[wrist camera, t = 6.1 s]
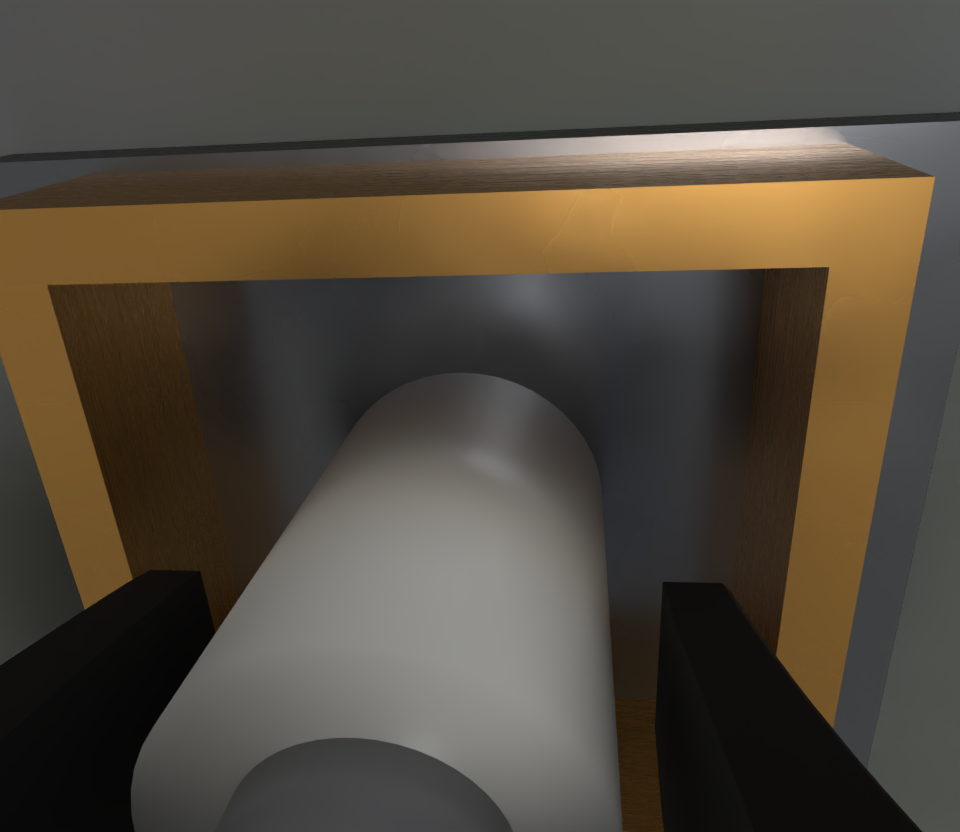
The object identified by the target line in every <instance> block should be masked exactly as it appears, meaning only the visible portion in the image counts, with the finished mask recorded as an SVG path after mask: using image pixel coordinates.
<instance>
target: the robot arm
mask: <svg viewBox="0 0 960 832" xmlns="http://www.w3.org/2000/svg"><path fill="white" fill-rule="evenodd" d="M215 634H216V633H215V628H214V624H213V620H212V616H211V612H210V608H209V604H208V600H207V596H206V592H205V588H204V584H203V580H202V576H201V572H200V571H183V570H149V571H147V572H145V573H143V574H142V575H140V576H138V577H136V578H134V579H133V580H131V581H129V582H128V583H126V584H124V585H123V586H121V587H119V588H118V589H116V590H115V591H113V592H112V593H110V594H108V595H107V596H105V597H104V598H102V599H101V600H99V601H97V602H96V603H94V604H93V605H91V606H90V607H88V608H87V609H85V610H84V611H82V612H81V613H79V614H78V615H76V616H75V617H73V618H72V619H70V620H68V621H67V622H65V623H64V624H62V625H61V626H59V627H58V628H56V629H55V630H53V631H52V632H50V633H49V634H47V635H46V636H44V637H43V638H41V639H40V640H38V641H37V642H35V643H34V644H32V645H31V646H29V647H28V648H26V649H25V650H23V651H22V652H20V653H19V654H17V655H16V656H14V657H12V658H11V659H9V660H8V661H6V662H5V663H3V664H2V665H0V832H135V830H134V824H133V819H132V814H131V786H132V780H133V773H134V768H135V765H136V762H137V759H138V756H139V753H140V751H141V748H142V745H143V744H144V742H145V740H146V738H147V737H148V735H149V733H150V732H151V730H152V728H153V726H154V725H155V723H156V722H157V720H158V719H159V717H160V716H161V714H162V713H163V711H164V710H165V708H166V707H167V705H168V704H169V702H170V701H171V699H172V698H173V696H174V695H175V693H176V692H177V690H178V689H179V687H180V686H181V684H182V683H183V681H184V680H185V678H186V677H187V675H188V674H189V672H190V671H191V669H192V668H193V666H194V665H195V663H196V662H197V660H198V659H199V657H200V656H201V654H202V653H203V651H204V650H205V648H206V647H207V645H208V644H209V643H210V641H211V640H212V638H213V637H214V635H215ZM655 736H656V749H657V762H658V775H659V787H660V798H661V810H662V821H663V827H664V832H922V831H921V830H920V829H919V828H918V827H917V825H916V824H915V823H914V822H913V821H912V820H911V819H910V818H909V817H908V815H907V814H906V813H905V812H904V811H903V810H902V809H901V808H900V807H899V805H898V804H897V803H896V802H895V801H894V800H893V799H892V798H891V797H890V795H889V794H888V793H887V792H886V791H885V790H884V789H883V788H882V786H881V785H880V784H879V783H878V782H877V781H876V779H875V778H874V777H873V776H872V775H871V774H870V772H869V771H868V770H867V769H866V768H865V767H864V765H863V764H862V763H861V762H860V761H859V760H858V758H857V757H856V756H855V755H854V754H853V752H852V751H851V750H850V749H849V748H848V746H847V745H846V744H845V743H844V741H843V740H842V739H841V738H840V737H839V735H838V734H837V733H836V732H835V730H834V729H833V728H832V727H831V725H830V724H829V723H828V722H827V721H826V719H825V718H824V717H823V716H822V714H821V713H820V712H819V711H818V710H817V708H816V707H815V706H814V705H813V703H812V702H811V701H810V700H809V698H808V697H807V696H806V694H805V693H804V692H803V691H802V689H801V688H800V687H799V685H798V684H797V683H796V682H795V680H794V679H793V678H792V676H791V675H790V674H789V672H788V671H787V670H786V668H785V667H784V666H783V664H782V663H781V662H780V660H779V659H778V658H777V656H776V655H775V654H774V652H773V651H772V650H771V648H770V647H769V645H768V644H767V643H766V641H765V640H764V638H763V637H762V636H761V634H760V633H759V631H758V630H757V629H756V627H755V626H754V624H753V623H752V621H751V620H750V619H749V617H748V616H747V614H746V613H745V611H744V610H743V608H742V607H741V605H740V604H739V602H738V601H737V599H736V598H735V596H734V595H733V593H732V592H731V591H730V590H729V589H728V588H727V587H726V586H725V585H724V584H723V583H699V582H663V585H662V603H661V621H660V639H659V657H658V675H657V693H656V711H655Z"/></svg>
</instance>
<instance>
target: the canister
mask: <svg viewBox="0 0 960 832" xmlns="http://www.w3.org/2000/svg"><path fill="white" fill-rule="evenodd" d="M131 814H132V819H133V824H134V830H135V832H623V825H622V809H621V793H620V777H619V760H618V744H617V728H616V712H615V696H614V680H613V663H612V647H611V631H610V615H609V599H608V583H607V566H606V550H605V534H604V518H603V502H602V486H601V481H600V476H599V471H598V468H597V465H596V462H595V459H594V457H593V454H592V452H591V450H590V448H589V446H588V444H587V443H586V441H585V439H584V437H583V436H582V435H581V433H580V432H579V431H578V429H577V428H576V426H575V425H574V424H573V423H572V422H571V421H570V420H569V419H568V418H567V416H566V415H565V414H564V413H563V412H562V411H560V410H559V409H558V408H557V407H556V406H554V405H553V404H552V403H551V402H549V401H548V400H547V399H545V398H543V397H542V396H540V395H539V394H537V393H535V392H534V391H532V390H530V389H528V388H526V387H523V386H521V385H519V384H517V383H514V382H511V381H508V380H505V379H502V378H499V377H494V376H489V375H483V374H476V373H447V374H439V375H433V376H428V377H424V378H421V379H418V380H415V381H412V382H409V383H406V384H404V385H402V386H400V387H398V388H396V389H394V390H392V391H391V392H389V393H388V394H386V395H385V396H383V397H382V398H380V399H379V400H378V401H377V402H376V403H374V404H373V405H372V406H371V407H370V408H369V409H368V410H367V411H366V412H365V413H364V414H363V415H362V417H361V418H360V419H359V420H358V422H357V423H356V424H355V426H354V427H353V429H352V430H351V432H350V433H349V435H348V436H347V438H346V439H345V441H344V442H343V444H342V445H341V447H340V448H339V450H338V451H337V453H336V454H335V456H334V457H333V458H332V460H331V461H330V463H329V464H328V466H327V467H326V469H325V470H324V472H323V473H322V475H321V476H320V478H319V479H318V481H317V482H316V484H315V485H314V487H313V488H312V490H311V491H310V493H309V494H308V496H307V497H306V499H305V500H304V502H303V503H302V505H301V506H300V508H299V509H298V511H297V512H296V514H295V515H294V517H293V518H292V520H291V521H290V523H289V524H288V526H287V527H286V529H285V530H284V532H283V533H282V535H281V536H280V538H279V539H278V541H277V542H276V544H275V545H274V547H273V548H272V550H271V551H270V553H269V554H268V556H267V557H266V559H265V560H264V562H263V563H262V565H261V566H260V568H259V569H258V571H257V572H256V574H255V575H254V577H253V578H252V580H251V581H250V583H249V584H248V586H247V587H246V589H245V590H244V592H243V593H242V595H241V596H240V598H239V599H238V601H237V602H236V604H235V605H234V607H233V608H232V610H231V611H230V613H229V614H228V616H227V617H226V619H225V620H224V622H223V623H222V625H221V626H220V628H219V629H218V631H217V632H216V634H215V635H214V637H213V638H212V640H211V641H210V643H209V644H208V645H207V647H206V648H205V650H204V651H203V653H202V654H201V656H200V657H199V659H198V660H197V662H196V663H195V665H194V666H193V668H192V669H191V671H190V672H189V674H188V675H187V677H186V678H185V680H184V681H183V683H182V684H181V686H180V687H179V689H178V690H177V692H176V693H175V695H174V696H173V698H172V699H171V701H170V702H169V704H168V705H167V707H166V708H165V710H164V711H163V713H162V714H161V716H160V717H159V719H158V720H157V722H156V723H155V725H154V726H153V728H152V730H151V732H150V733H149V735H148V737H147V738H146V740H145V742H144V744H143V745H142V748H141V751H140V753H139V756H138V759H137V762H136V765H135V768H134V773H133V780H132V786H131Z"/></svg>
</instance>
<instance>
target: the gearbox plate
mask: <svg viewBox="0 0 960 832" xmlns="http://www.w3.org/2000/svg"><path fill="white" fill-rule="evenodd" d="M959 340H960V112H953V113H931V114H908V115H886V116H863V117H841V118H818V119H796V120H774V121H751V122H729V123H706V124H684V125H661V126H639V127H617V128H594V129H572V130H549V131H527V132H504V133H482V134H460V135H437V136H415V137H392V138H370V139H347V140H325V141H302V142H280V143H258V144H235V145H213V146H190V147H168V148H145V149H123V150H101V151H78V152H56V153H33V154H12V155H7V156H2V157H0V354H1V357H2V360H3V363H4V366H5V370H6V373H7V376H8V379H9V382H10V385H11V388H12V391H13V394H14V397H15V400H16V403H17V406H18V409H19V412H20V415H21V418H22V421H23V424H24V427H25V430H26V433H27V436H28V439H29V442H30V445H31V448H32V451H33V454H34V457H35V460H36V463H37V466H38V470H39V473H40V476H41V479H42V482H43V485H44V488H45V491H46V494H47V497H48V500H49V503H50V506H51V509H52V512H53V515H54V518H55V521H56V524H57V527H58V530H59V533H60V536H61V539H62V542H63V545H64V548H65V551H66V554H67V557H68V560H69V563H70V567H71V570H72V573H73V576H74V579H75V582H76V585H77V588H78V591H79V594H80V597H81V600H82V603H83V606H84V609H87V608H88V607H90V606H91V605H93V604H94V603H96V602H97V601H99V600H101V599H102V598H104V597H105V596H107V595H108V594H110V593H112V592H113V591H115V590H116V589H118V588H119V587H121V586H123V585H124V584H126V583H128V582H129V581H131V580H133V579H134V578H136V577H138V576H140V575H142V574H143V573H145V572H147V571H149V570H183V571H200V572H201V576H202V580H203V584H204V588H205V592H206V596H207V600H208V604H209V608H210V612H211V616H212V620H213V624H214V628H215V633H216V632H217V631H218V629H219V628H220V626H221V625H222V623H223V622H224V620H225V619H226V617H227V616H228V614H229V613H230V611H231V610H232V608H233V607H234V605H235V604H236V602H237V601H238V599H239V598H240V596H241V595H242V593H243V592H244V590H245V589H246V587H247V586H248V584H249V583H250V581H251V580H252V578H253V577H254V575H255V574H256V572H257V571H258V569H259V568H260V566H261V565H262V563H263V562H264V560H265V559H266V557H267V556H268V554H269V553H270V551H271V550H272V548H273V547H274V545H275V544H276V542H277V541H278V539H279V538H280V536H281V535H282V533H283V532H284V530H285V529H286V527H287V526H288V524H289V523H290V521H291V520H292V518H293V517H294V515H295V514H296V512H297V511H298V509H299V508H300V506H301V505H302V503H303V502H304V500H305V499H306V497H307V496H308V494H309V493H310V491H311V490H312V488H313V487H314V485H315V484H316V482H317V481H318V479H319V478H320V476H321V475H322V473H323V472H324V470H325V469H326V467H327V466H328V464H329V463H330V461H331V460H332V458H333V457H334V456H335V454H336V453H337V451H338V450H339V448H340V447H341V445H342V444H343V442H344V441H345V439H346V438H347V436H348V435H349V433H350V432H351V430H352V429H353V427H354V426H355V424H356V423H357V422H358V420H359V419H360V418H361V417H362V415H363V414H364V413H365V412H366V411H367V410H368V409H369V408H370V407H371V406H372V405H373V404H374V403H376V402H377V401H378V400H379V399H380V398H382V397H383V396H385V395H386V394H388V393H389V392H391V391H392V390H394V389H396V388H398V387H400V386H402V385H404V384H406V383H409V382H412V381H415V380H418V379H421V378H424V377H428V376H433V375H439V374H447V373H476V374H483V375H489V376H494V377H499V378H502V379H505V380H508V381H511V382H514V383H517V384H519V385H521V386H523V387H526V388H528V389H530V390H532V391H534V392H535V393H537V394H539V395H540V396H542V397H543V398H545V399H547V400H548V401H549V402H551V403H552V404H553V405H554V406H556V407H557V408H558V409H559V410H560V411H562V412H563V413H564V414H565V415H566V416H567V418H568V419H569V420H570V421H571V422H572V423H573V424H574V425H575V426H576V428H577V429H578V431H579V432H580V433H581V435H582V436H583V437H584V439H585V441H586V443H587V444H588V446H589V448H590V450H591V452H592V454H593V457H594V459H595V462H596V465H597V468H598V471H599V476H600V481H601V486H602V502H603V518H604V534H605V550H606V566H607V583H608V599H609V615H610V631H611V647H612V663H613V680H614V696H615V712H616V728H617V744H618V760H619V777H620V793H621V809H622V825H623V832H664V827H663V821H662V810H661V798H660V787H659V775H658V762H657V749H656V736H655V711H656V693H657V675H658V657H659V639H660V621H661V603H662V585H663V582H699V583H723V584H724V585H725V586H726V587H727V588H728V589H729V590H730V591H731V592H732V593H733V595H734V596H735V598H736V599H737V601H738V602H739V604H740V605H741V607H742V608H743V610H744V611H745V613H746V614H747V616H748V617H749V619H750V620H751V621H752V623H753V624H754V626H755V627H756V629H757V630H758V631H759V633H760V634H761V636H762V637H763V638H764V640H765V641H766V643H767V644H768V645H769V647H770V648H771V650H772V651H773V652H774V654H775V655H776V656H777V658H778V659H779V660H780V662H781V663H782V664H783V666H784V667H785V668H786V670H787V671H788V672H789V674H790V675H791V676H792V678H793V679H794V680H795V682H796V683H797V684H798V685H799V687H800V688H801V689H802V691H803V692H804V693H805V694H806V696H807V697H808V698H809V700H810V701H811V702H812V703H813V705H814V706H815V707H816V708H817V710H818V711H819V712H820V713H821V714H822V716H823V717H824V718H825V719H826V721H827V722H828V723H829V724H830V725H831V727H832V728H833V729H834V730H835V732H836V733H837V734H838V735H839V737H840V738H841V739H842V740H843V741H844V743H845V744H846V745H847V746H848V748H849V749H850V750H851V751H852V752H853V754H854V755H855V756H856V757H857V758H858V760H859V761H860V762H861V763H862V764H863V765H864V767H865V768H866V769H867V765H868V761H869V756H870V751H871V747H872V742H873V738H874V733H875V728H876V724H877V719H878V715H879V710H880V705H881V701H882V696H883V691H884V687H885V682H886V677H887V673H888V668H889V664H890V659H891V654H892V650H893V645H894V640H895V636H896V631H897V627H898V622H899V617H900V613H901V608H902V603H903V599H904V594H905V590H906V585H907V580H908V576H909V571H910V566H911V562H912V557H913V553H914V548H915V543H916V539H917V534H918V529H919V525H920V520H921V516H922V511H923V506H924V502H925V497H926V492H927V488H928V483H929V479H930V474H931V469H932V465H933V460H934V455H935V451H936V446H937V442H938V437H939V432H940V428H941V423H942V418H943V414H944V409H945V405H946V400H947V395H948V391H949V386H950V381H951V377H952V372H953V368H954V363H955V358H956V354H957V349H958V344H959Z"/></svg>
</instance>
